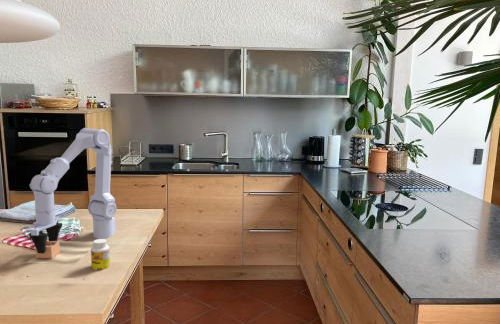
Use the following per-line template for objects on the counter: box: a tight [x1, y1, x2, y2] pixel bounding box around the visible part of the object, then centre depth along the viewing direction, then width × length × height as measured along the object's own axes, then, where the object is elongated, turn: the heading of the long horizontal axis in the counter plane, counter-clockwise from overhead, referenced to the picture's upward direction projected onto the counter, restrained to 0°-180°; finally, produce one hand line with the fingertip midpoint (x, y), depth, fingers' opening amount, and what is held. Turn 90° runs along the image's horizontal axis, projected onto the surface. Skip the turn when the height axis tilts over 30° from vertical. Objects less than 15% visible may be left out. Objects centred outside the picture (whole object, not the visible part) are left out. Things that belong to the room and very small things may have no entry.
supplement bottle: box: [90, 238, 111, 271], centre depth 126 cm, size 6×6×10 cm
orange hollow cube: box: [34, 240, 60, 258], centre depth 133 cm, size 5×5×5 cm
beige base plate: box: [25, 240, 93, 265], centre depth 137 cm, size 20×16×2 cm
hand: (47, 248), depth 133 cm, fingers open, 7 cm apart
